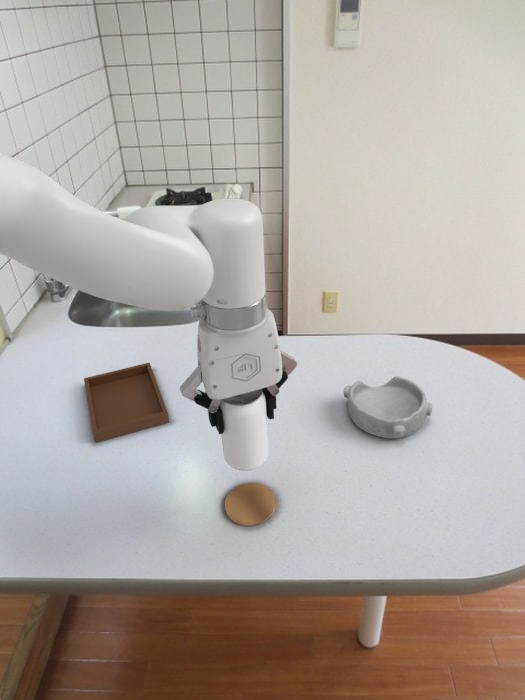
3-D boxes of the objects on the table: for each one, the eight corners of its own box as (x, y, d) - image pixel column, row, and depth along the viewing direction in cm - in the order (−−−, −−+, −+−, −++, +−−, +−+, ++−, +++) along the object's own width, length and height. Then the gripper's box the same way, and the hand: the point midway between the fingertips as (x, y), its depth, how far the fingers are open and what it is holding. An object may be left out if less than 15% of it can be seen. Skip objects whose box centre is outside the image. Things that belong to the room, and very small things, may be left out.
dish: (333, 407, 101) (334, 386, 98) (391, 384, 105) (394, 364, 103) (380, 455, 90) (383, 434, 87) (442, 427, 95) (447, 406, 92)
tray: (169, 422, 99) (167, 412, 97) (95, 442, 95) (93, 433, 94) (151, 371, 112) (149, 362, 111) (86, 387, 109) (83, 378, 107)
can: (273, 443, 78) (270, 379, 71) (261, 476, 73) (257, 410, 66) (232, 436, 79) (225, 373, 73) (217, 467, 74) (209, 403, 68)
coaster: (257, 534, 78) (256, 532, 77) (214, 511, 82) (214, 509, 81) (285, 498, 83) (285, 496, 83) (244, 477, 87) (244, 475, 87)
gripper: (169, 339, 57) (189, 456, 67) (314, 306, 62) (312, 420, 72) (155, 308, 63) (175, 420, 73) (289, 279, 67) (290, 388, 78)
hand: (243, 419), depth 72 cm, fingers closed on can, 6 cm apart
